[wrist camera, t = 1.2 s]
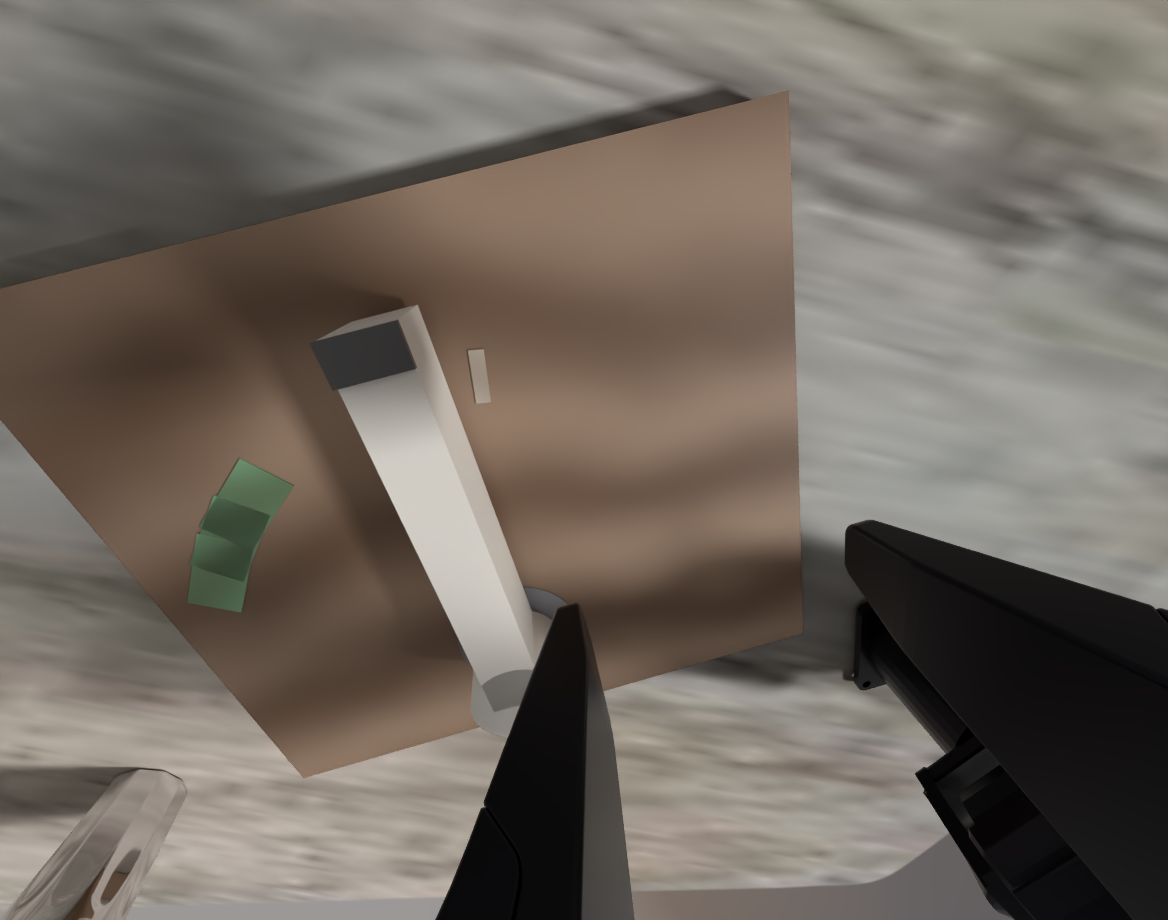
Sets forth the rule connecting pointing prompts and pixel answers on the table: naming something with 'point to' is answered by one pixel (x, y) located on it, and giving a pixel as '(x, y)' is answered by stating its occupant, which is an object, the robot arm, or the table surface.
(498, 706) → the peg lever
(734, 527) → the plate
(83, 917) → the milkshake
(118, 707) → the table surface
